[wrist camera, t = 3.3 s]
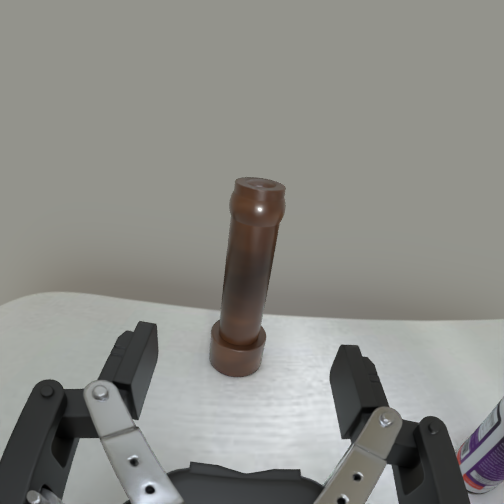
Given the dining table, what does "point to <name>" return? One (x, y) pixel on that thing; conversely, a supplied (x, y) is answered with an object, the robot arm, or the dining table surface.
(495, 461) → the pill bottle
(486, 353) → the dining table surface
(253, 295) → the brown rolling pin handle
